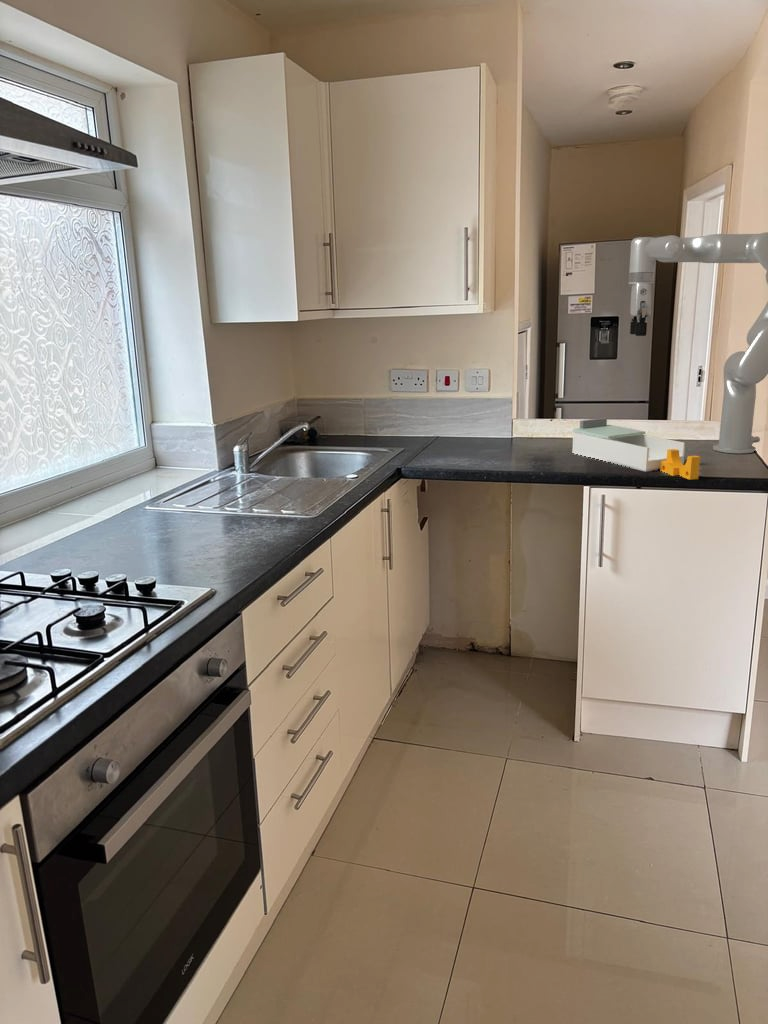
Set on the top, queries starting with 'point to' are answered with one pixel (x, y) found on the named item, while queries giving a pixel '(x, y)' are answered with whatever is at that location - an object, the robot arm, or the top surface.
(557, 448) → the top surface
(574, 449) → the housing
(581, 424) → the lid
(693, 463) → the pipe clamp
